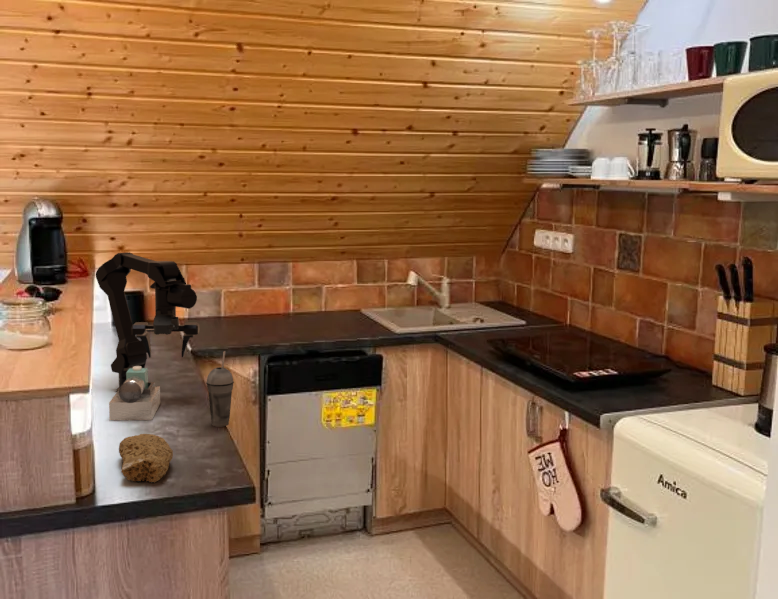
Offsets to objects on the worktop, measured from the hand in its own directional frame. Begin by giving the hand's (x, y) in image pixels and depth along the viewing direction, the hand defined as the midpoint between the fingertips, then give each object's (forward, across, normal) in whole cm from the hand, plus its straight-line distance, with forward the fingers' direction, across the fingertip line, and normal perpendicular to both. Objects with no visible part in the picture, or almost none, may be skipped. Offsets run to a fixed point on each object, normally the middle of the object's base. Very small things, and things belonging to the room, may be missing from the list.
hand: (166, 357), depth 224 cm
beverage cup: (+13, +17, -24) cm, 32 cm away
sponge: (+14, +2, -55) cm, 57 cm away
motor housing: (+13, -7, -11) cm, 18 cm away
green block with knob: (+8, -7, -8) cm, 13 cm away
